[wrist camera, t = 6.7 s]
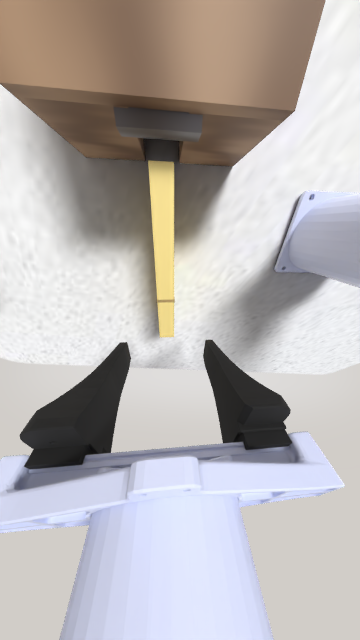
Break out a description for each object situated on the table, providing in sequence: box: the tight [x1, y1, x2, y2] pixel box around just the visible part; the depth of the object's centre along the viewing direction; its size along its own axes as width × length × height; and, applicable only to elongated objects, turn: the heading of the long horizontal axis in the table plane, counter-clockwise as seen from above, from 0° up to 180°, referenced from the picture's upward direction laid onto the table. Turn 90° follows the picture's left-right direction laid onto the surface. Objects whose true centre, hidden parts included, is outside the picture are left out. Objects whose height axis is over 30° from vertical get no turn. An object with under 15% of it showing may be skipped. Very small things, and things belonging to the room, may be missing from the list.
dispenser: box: [0, 0, 325, 166], centre depth 8 cm, size 13×10×8 cm
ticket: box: [148, 160, 174, 337], centre depth 15 cm, size 2×14×6 cm, turn 179°
